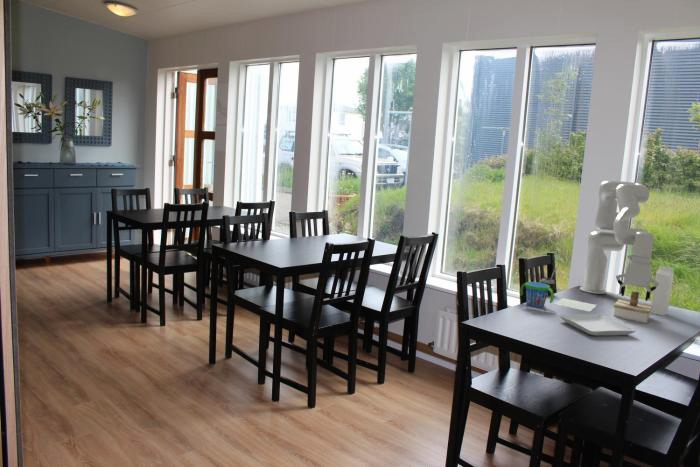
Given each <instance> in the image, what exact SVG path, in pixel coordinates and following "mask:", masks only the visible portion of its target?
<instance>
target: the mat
mask: <svg viewBox="0 0 700 467" xmlns="http://www.w3.org/2000/svg"><path fill="white" fill-rule="evenodd" d="M553 305H556V306H561V307H565V308H571V309H575V310H580V311H585V312H592V311H593V310H594V309H595V308H596V307H597V304H593V303H589V302H585V301H584V302H583V301H579V300H574V299H569V298H564V297H561V298H560V299H558V300H557V301H555V303H553Z"/></svg>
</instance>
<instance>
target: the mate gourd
mask: <svg viewBox="0 0 700 467" xmlns="http://www.w3.org/2000/svg"><path fill="white" fill-rule="evenodd" d="M559 266H560V265H559V264H558V265H557V266H555V268H554V269H553V270H552V271H553V272H552V274H551V277H550V278H549V277H548V278H547V277H543V278H541V280H540V282H539V283H544V284H547V285H549V286H550V288H551V289H552V291H553V293H554V291H555V289H556V288H555V286H556V282H555V279H553V277H554V274H555V272H556V271H557V268H559ZM547 295H550V296H551V292H550V291H549V290H548V294H547Z"/></svg>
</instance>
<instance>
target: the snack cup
mask: <svg viewBox="0 0 700 467" xmlns="http://www.w3.org/2000/svg"><path fill="white" fill-rule="evenodd" d="M524 288H525V294H526V295H525V298H526V299H525V300H526V305H527V306H530V307H534V308H544V307H545V304H546V301H547V298H548V295H549V294H548V290H549V291H550V292H551V295H550V299H549V303H550V304H551V303H553V302H554V300H555V299H554V297H555V295H554V292H553V291H552V289H551V288H550V286H549V285H547V284H544V283H540V282H538V281H527V282H525V283H523V284H521V286H520V288H519V296H523V294H524V291H523V289H524Z"/></svg>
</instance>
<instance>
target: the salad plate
mask: <svg viewBox="0 0 700 467" xmlns="http://www.w3.org/2000/svg"><path fill="white" fill-rule="evenodd" d="M559 317H560V318H561V319H562V321H563V322H565V323H567V324H569V325H571V326H572V327H574V328H575V329H578V330H579V331H582V332H584V333H586V334H588V335H590V336H628V335H632V334H634V333H635V332H636V331H637V330H636V329H634V328H632V327H630V326H629V325H626V324H625V323H622V322H619V321H617V320H615V319H613V318H610V317H609V316H606V315H604V314H601V313H600V314H595V313H594V314H590V313H589V314H587V313H586V314H585V313H584V314H583V313H582V314H559Z"/></svg>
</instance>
